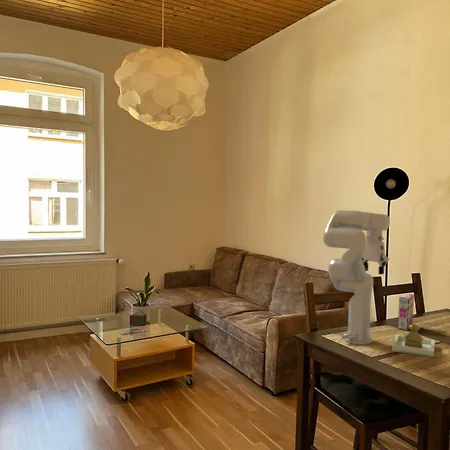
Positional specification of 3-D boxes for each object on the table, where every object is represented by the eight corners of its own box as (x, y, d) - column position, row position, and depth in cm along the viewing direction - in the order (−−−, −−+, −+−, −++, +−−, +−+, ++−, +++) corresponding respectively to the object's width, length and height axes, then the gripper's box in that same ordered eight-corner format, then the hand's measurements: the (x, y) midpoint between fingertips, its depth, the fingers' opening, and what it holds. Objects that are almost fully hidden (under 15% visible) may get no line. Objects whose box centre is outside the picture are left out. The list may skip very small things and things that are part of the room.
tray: (433, 358, 177) (433, 351, 177) (392, 351, 184) (392, 344, 184) (434, 346, 191) (434, 340, 191) (395, 340, 198) (396, 334, 198)
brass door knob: (413, 350, 183) (414, 327, 182) (400, 345, 190) (401, 322, 189) (426, 348, 186) (427, 325, 185) (412, 343, 193) (413, 321, 192)
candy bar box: (408, 330, 213) (409, 298, 212) (397, 329, 216) (398, 296, 215) (413, 325, 222) (414, 294, 221) (403, 323, 225) (404, 292, 224)
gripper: (393, 240, 209) (392, 274, 211) (365, 236, 224) (364, 269, 225) (383, 240, 205) (382, 276, 207) (355, 237, 220) (354, 270, 221)
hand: (373, 272), depth 216 cm, fingers open, 9 cm apart
